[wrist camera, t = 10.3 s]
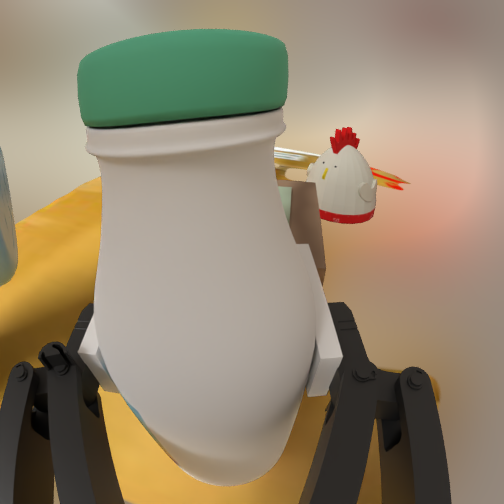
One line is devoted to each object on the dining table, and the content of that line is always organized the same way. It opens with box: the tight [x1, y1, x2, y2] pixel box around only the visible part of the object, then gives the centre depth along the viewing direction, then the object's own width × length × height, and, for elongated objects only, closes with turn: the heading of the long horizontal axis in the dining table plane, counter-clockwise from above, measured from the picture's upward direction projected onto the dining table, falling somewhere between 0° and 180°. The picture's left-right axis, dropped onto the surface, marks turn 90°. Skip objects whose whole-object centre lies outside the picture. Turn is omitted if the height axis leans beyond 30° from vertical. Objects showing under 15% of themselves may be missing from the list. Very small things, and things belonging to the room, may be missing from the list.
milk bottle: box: [77, 29, 316, 486], centre depth 11 cm, size 8×8×20 cm
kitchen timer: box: [306, 127, 377, 224], centre depth 49 cm, size 14×14×15 cm
